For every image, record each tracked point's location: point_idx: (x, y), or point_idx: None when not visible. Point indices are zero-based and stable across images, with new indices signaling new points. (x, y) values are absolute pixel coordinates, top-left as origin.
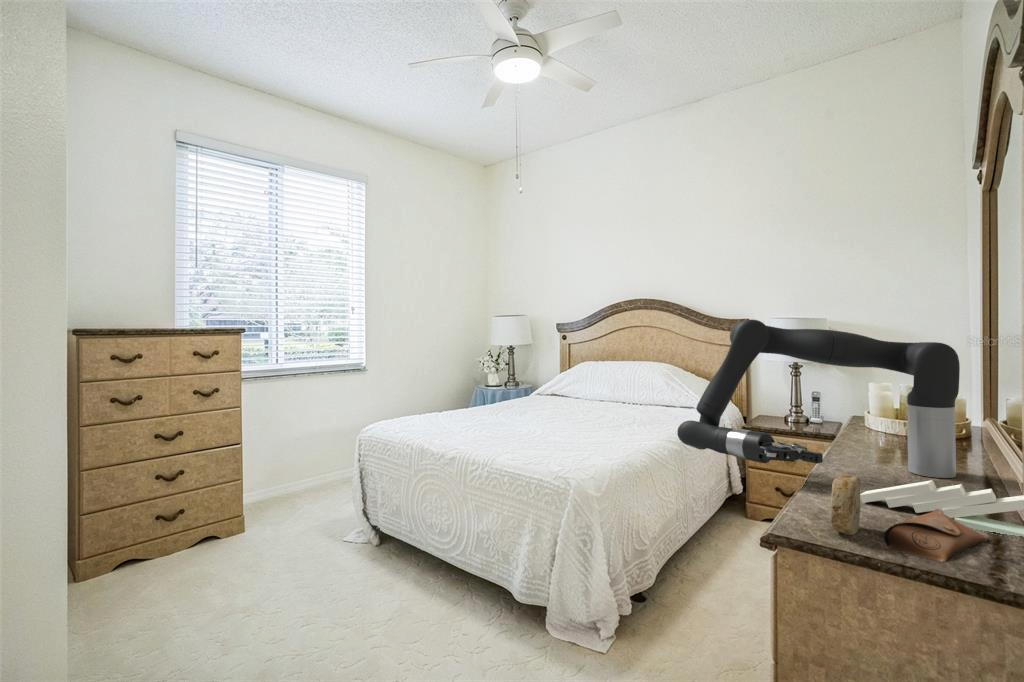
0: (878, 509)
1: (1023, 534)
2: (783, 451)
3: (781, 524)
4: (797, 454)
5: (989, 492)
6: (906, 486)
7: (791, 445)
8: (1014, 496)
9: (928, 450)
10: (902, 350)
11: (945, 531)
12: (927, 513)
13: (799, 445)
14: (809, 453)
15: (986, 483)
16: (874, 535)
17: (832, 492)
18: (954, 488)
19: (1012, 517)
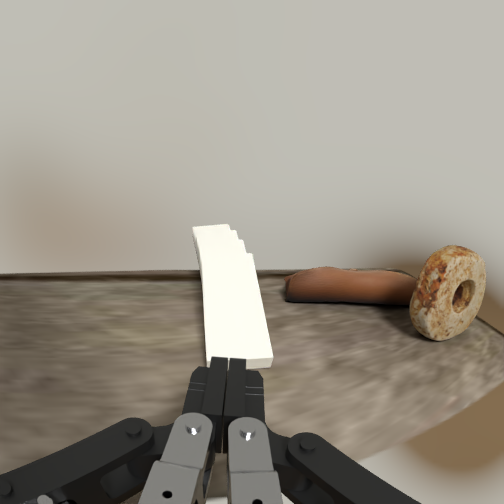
0: (279, 347)
1: (253, 260)
2: (366, 472)
3: None
4: (283, 440)
5: (233, 231)
6: (241, 280)
7: (189, 484)
8: (194, 232)
9: None
10: None
11: (365, 270)
12: (325, 278)
13: (48, 466)
14: (244, 391)
15: None
16: (410, 320)
17: (484, 274)
18: (240, 244)
19: (154, 270)
